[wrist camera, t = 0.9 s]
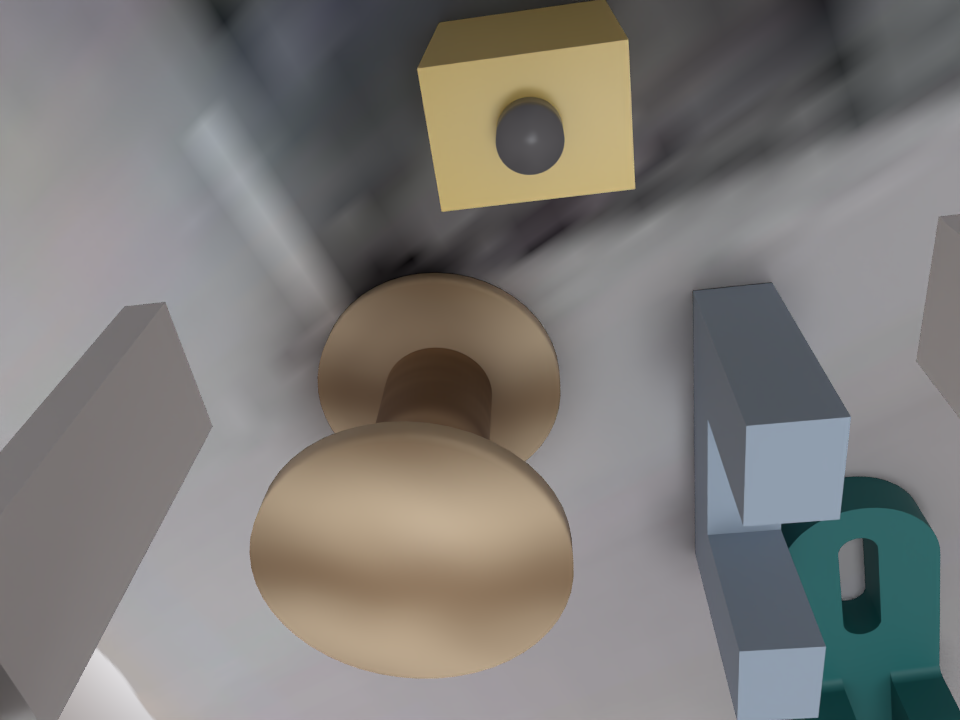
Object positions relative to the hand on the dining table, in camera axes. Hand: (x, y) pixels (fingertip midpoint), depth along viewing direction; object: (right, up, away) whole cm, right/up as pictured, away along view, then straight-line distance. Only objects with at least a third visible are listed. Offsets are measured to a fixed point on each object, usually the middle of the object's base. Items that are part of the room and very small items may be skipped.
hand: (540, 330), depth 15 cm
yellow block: (+1, +9, +14) cm, 17 cm away
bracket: (+17, -13, +27) cm, 35 cm away
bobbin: (-3, -1, +21) cm, 21 cm away
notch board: (+10, -4, +21) cm, 24 cm away
